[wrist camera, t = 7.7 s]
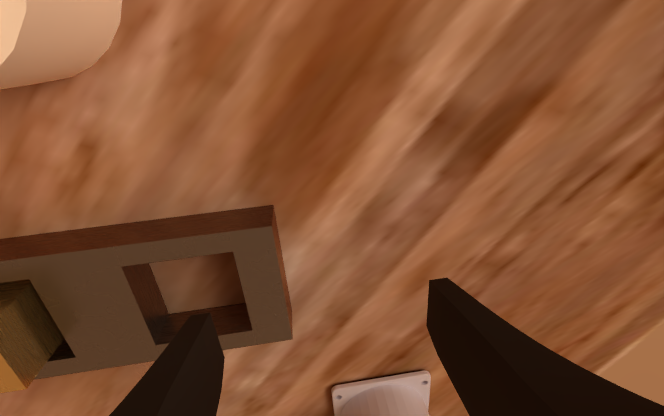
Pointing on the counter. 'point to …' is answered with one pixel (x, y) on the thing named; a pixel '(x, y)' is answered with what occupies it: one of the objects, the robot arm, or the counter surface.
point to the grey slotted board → (148, 285)
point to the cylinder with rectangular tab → (53, 38)
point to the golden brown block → (24, 335)
